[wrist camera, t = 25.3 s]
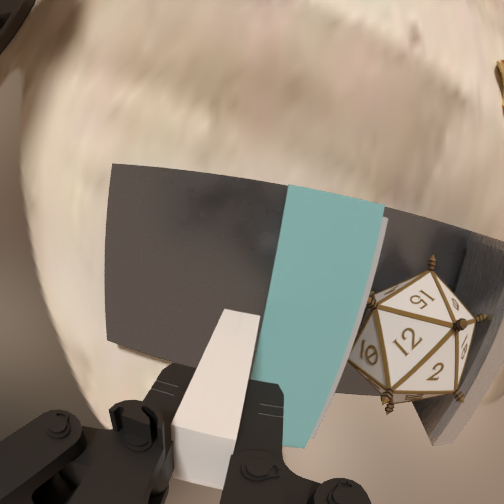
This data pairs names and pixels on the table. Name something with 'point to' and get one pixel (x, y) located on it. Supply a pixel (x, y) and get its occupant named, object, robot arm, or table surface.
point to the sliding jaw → (316, 301)
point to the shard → (503, 68)
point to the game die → (414, 340)
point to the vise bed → (260, 271)
